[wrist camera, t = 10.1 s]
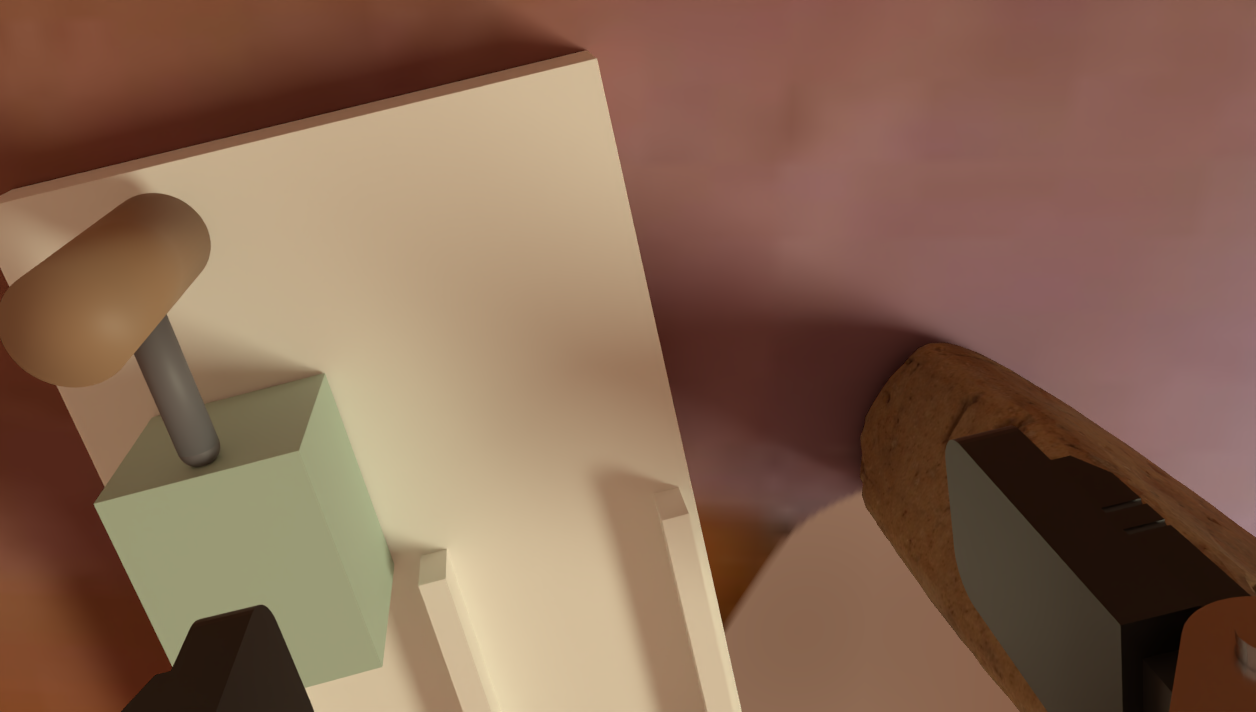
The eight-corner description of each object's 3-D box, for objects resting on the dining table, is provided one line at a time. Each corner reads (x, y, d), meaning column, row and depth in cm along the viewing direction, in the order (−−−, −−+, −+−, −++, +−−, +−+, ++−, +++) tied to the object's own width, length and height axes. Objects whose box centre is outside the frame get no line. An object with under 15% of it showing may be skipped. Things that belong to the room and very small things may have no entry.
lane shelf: (11, 189, 35) (-110, 253, 28) (586, 50, 36) (617, 75, 29) (320, 865, 47) (293, 1034, 40) (743, 746, 48) (793, 889, 41)
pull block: (59, 207, 33) (-92, 302, 24) (248, 160, 33) (168, 237, 24) (235, 607, 38) (167, 800, 30) (394, 564, 39) (373, 743, 30)
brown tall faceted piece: (812, 459, 43) (1068, 836, 25) (913, 307, 41) (1271, 592, 23) (1007, 553, 47) (1362, 949, 28) (1110, 416, 45) (1561, 743, 26)
